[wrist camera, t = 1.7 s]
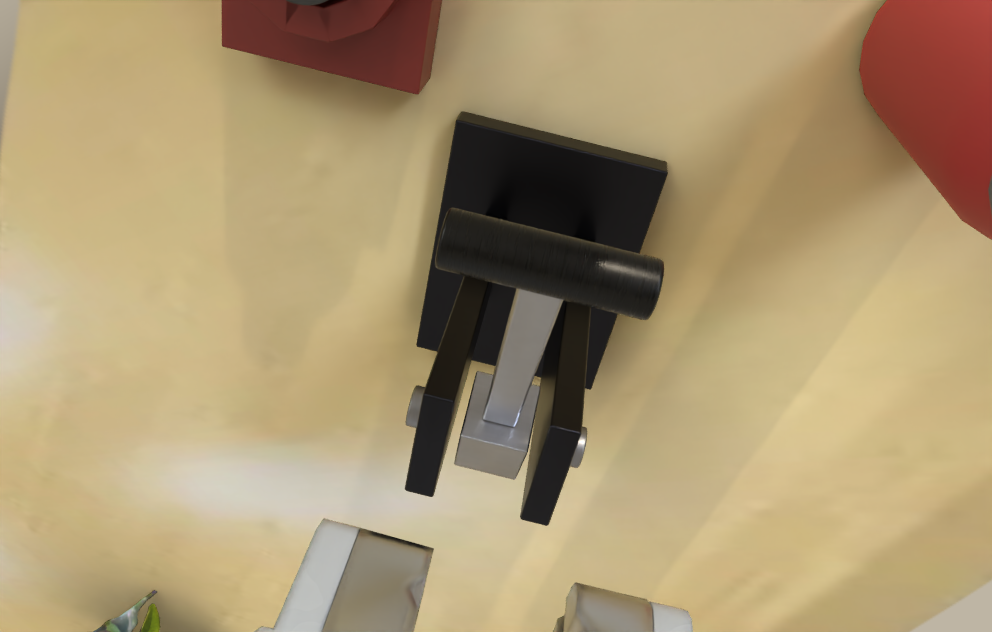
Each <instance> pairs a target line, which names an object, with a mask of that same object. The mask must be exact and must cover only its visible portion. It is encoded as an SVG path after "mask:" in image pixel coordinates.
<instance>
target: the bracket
mask: <svg viewBox="0 0 992 632" xmlns="http://www.w3.org/2000/svg"><path fill="white" fill-rule="evenodd" d="M667 174H668V170H667V162H665V161H661V160H657V159H653V158H649V157H645V156H641V155H637V154H632V153H628V152H624V151H620V150H616V149H612V148H608V147H604V146H600V145H596V144H592V143H588V142H584V141H580V140H576V139H572V138H568V137H564V136H560V135H556V134H552V133H548V132H544V131H540V130H536V129H531V128H527V127H523V126H519V125H515V124H511V123H507V122H503V121H499V120H495V119H491V118H487V117H483V116H479V115H475V114H471V113H467V112H461V113H460V115H459V116H458V118H457V120H456V124H455V129H454V135H453V141H452V146H451V152H450V158H449V163H448V169H447V175H446V180H445V186H444V192H443V197H442V203H441V208H440V214H439V220H438V225H437V231H436V237H435V242H434V248H433V254H432V259H431V265H430V271H429V276H428V282H427V288H426V293H425V299H424V305H423V310H422V316H421V322H420V327H419V333H418V339H417V344H416V345H417V347H421V348H425V349H429V350H433V351H437V355H436V358H435V361H434V364H433V367H432V369H431V372H430V375H429V378H428V381H427V384H426V387H422V386H416V387H415V388H414V391H413V394H412V397H411V400H410V404H409V408H408V412H407V417H406V425H407V426H410V427H414V428H416V433H415V438H414V443H413V448H412V454H411V459H410V464H409V469H408V474H407V480H406V485H405V490H406V491H409V492H413V493H417V494H421V495H425V496H429V497H433V495H434V492H435V489H436V485H437V482H438V478H439V475H440V471H441V467H442V464H443V460H444V457H445V453H446V450H447V446H448V442H449V439H450V435H451V432H452V428H453V425H454V421H455V418H456V414H457V410H458V407H459V403H460V400H461V396H462V393H463V389H464V385H465V382H466V378H467V375H468V371H469V368H470V364H471V360H473V361H477V362H481V363H485V364H489V365H493V366H496V363H497V359H498V356H499V352H500V348H501V345H502V341H503V337H504V333H505V330H506V326H507V322H508V319H509V315H510V311H511V307H512V304H513V300H514V296H515V293H516V288H512V287H508V286H504V285H500V284H496V283H492V282H488V281H484V280H480V279H476V278H472V277H468V276H464V275H460V274H456V273H452V272H448V271H444V270H440V269H438V268H436V265H435V257H436V251H437V246H438V241H439V237H440V233H441V229H442V225H443V222H444V219H445V216H446V214H447V212H448V210H449V209H450V208H457V209H461V210H465V211H469V212H473V213H477V214H481V215H485V216H489V217H494V218H498V219H502V220H506V221H510V222H514V223H518V224H522V225H526V226H530V227H534V228H538V229H542V230H546V231H550V232H554V233H558V234H562V235H566V236H570V237H574V238H578V239H582V240H586V241H590V242H594V243H598V244H602V245H606V246H610V247H614V248H618V249H622V250H626V251H630V252H635V253H640V250H641V248H642V245H643V242H644V239H645V236H646V233H647V231H648V228H649V225H650V222H651V219H652V217H653V214H654V211H655V208H656V205H657V203H658V200H659V197H660V194H661V191H662V189H663V186H664V183H665V180H666V177H667ZM617 315H618V314H617V313H613V312H609V311H605V310H601V309H597V308H593V307H589V306H585V305H581V304H577V303H573V302H569V301H565V300H563V302H562V305H561V307H560V310H559V313H558V315H557V318H556V320H555V323H554V326H553V328H552V331H551V334H550V336H549V339H548V342H547V344H546V347H545V350H544V352H543V355H542V358H541V360H540V363H539V365H538V368H537V371H536V373H535V376H537V377H541V382H540V387H541V389H540V394H539V399H538V404H537V409H536V415H535V422H534V429H533V435H532V442H531V449H530V455H529V462H528V468H527V475H526V482H525V488H524V495H523V502H522V508H521V515H520V517H521V519H522V520H526V521H530V522H534V523H538V524H542V525H546V526H547V525H548V524H549V523H550V520H551V517H552V514H553V512H554V509H555V506H556V503H557V500H558V498H559V495H560V492H561V489H562V487H563V484H564V481H565V478H566V476H567V473H568V470H569V467H574V468H578V467H579V465H580V463H581V461H582V458H583V454H584V451H585V446H586V441H587V428H586V427H582V422H583V409H584V395H585V388H586V389H591V388H592V385H593V382H594V380H595V377H596V374H597V371H598V368H599V365H600V363H601V360H602V357H603V354H604V351H605V349H606V346H607V343H608V340H609V337H610V335H611V332H612V329H613V326H614V323H615V321H616V318H617Z"/></svg>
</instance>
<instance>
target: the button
mask: <svg viewBox="0 0 992 632" xmlns="http://www.w3.org/2000/svg"><path fill="white" fill-rule="evenodd" d="M286 1H288V2H291V3H294V4H298V5H309V6H310V5H317V4H321V3H324V2H326V1H328V0H286Z"/></svg>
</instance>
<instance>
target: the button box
mask: <svg viewBox="0 0 992 632" xmlns="http://www.w3.org/2000/svg"><path fill="white" fill-rule="evenodd" d="M441 3H442V0H328V1H326V2H324V3H321V4H317V5H310V6H309V5H298V4H294V3H291V2H288V1H286V0H222V46H223V47H227V48H231V49H235V50H239V51H244V52H248V53H252V54H256V55H260V56H264V57H268V58H272V59H276V60H280V61H284V62H288V63H292V64H296V65H300V66H304V67H308V68H312V69H316V70H320V71H324V72H328V73H332V74H336V75H341V76H345V77H349V78H353V79H357V80H361V81H365V82H369V83H373V84H377V85H381V86H385V87H389V88H393V89H397V90H401V91H405V92H409V93H413V94H419V93H420V91H421V90H422V89H423V87H424V86H425V84H426V83H427V82H428V80H429V79H430V76H431V69H432V63H433V56H434V49H435V43H436V36H437V30H438V23H439V16H440V10H441Z"/></svg>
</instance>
